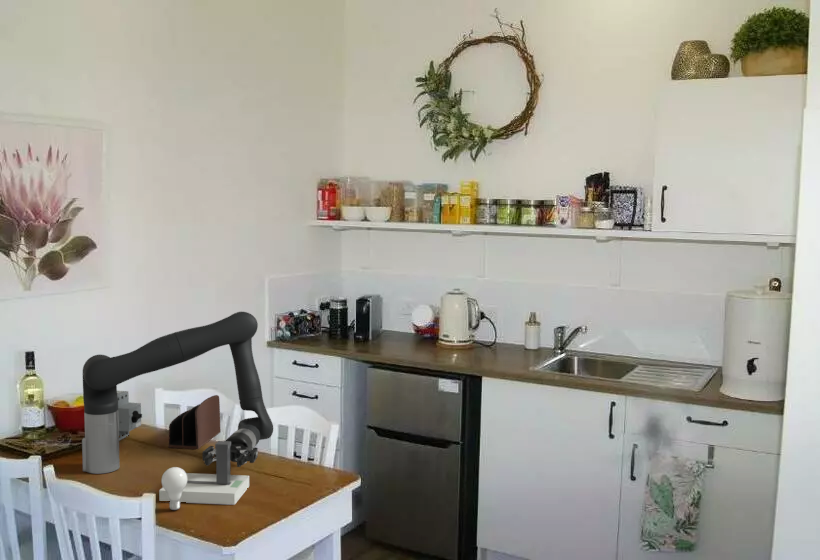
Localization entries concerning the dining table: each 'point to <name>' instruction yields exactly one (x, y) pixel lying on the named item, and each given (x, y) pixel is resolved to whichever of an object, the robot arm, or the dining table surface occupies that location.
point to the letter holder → (196, 425)
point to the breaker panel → (210, 489)
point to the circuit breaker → (127, 414)
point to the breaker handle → (222, 462)
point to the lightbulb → (174, 485)
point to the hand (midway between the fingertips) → (222, 462)
